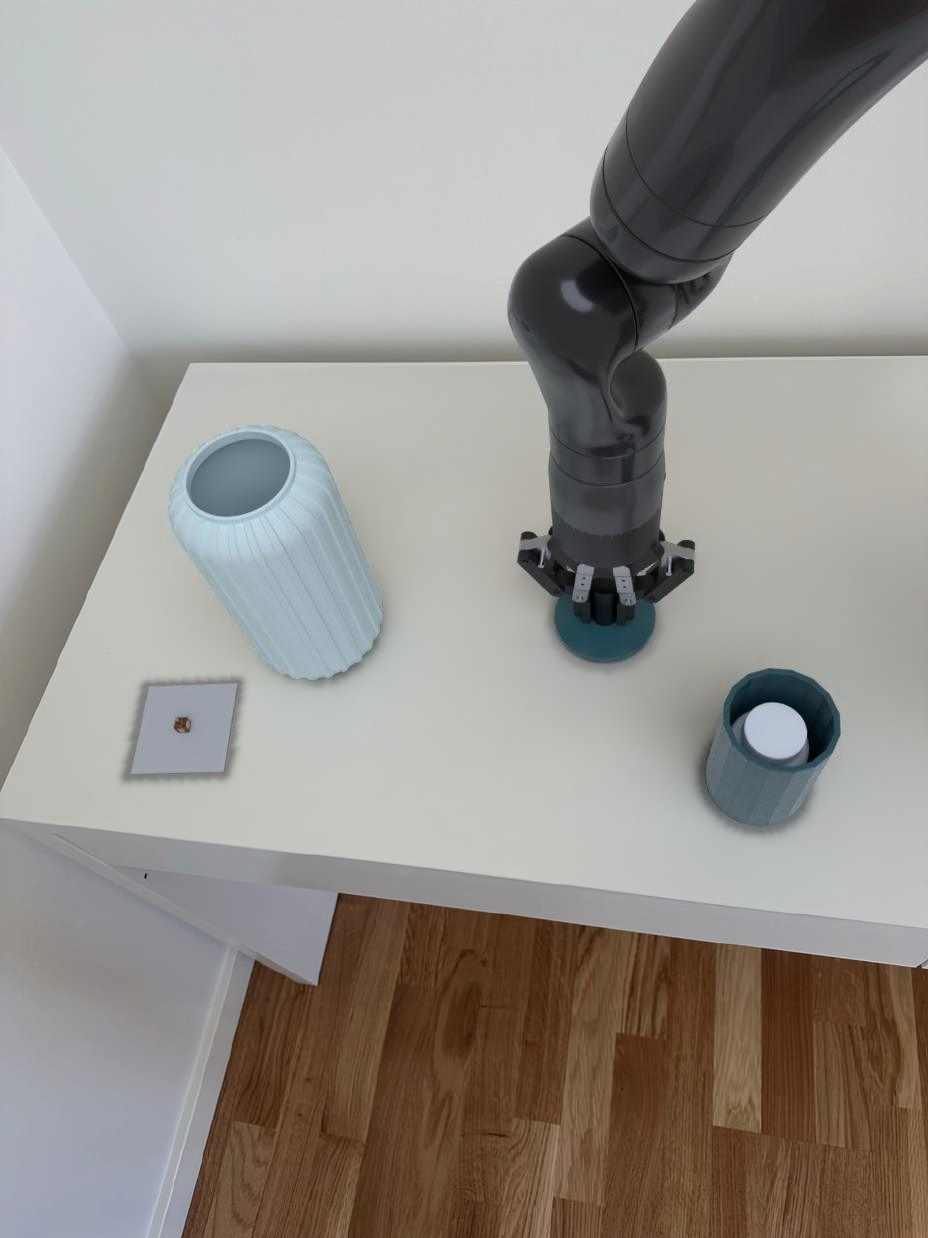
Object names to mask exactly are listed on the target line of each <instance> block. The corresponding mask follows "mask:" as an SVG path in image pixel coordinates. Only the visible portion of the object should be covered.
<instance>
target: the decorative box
mask: <svg viewBox="0 0 928 1238" xmlns="http://www.w3.org/2000/svg"><path fill="white" fill-rule="evenodd" d="M237 689H238V682H229V683H227V682H226V683H205V684H200V683H199V684H175V685H150V686H148V690H147V694H146V700H145V704H144V709H143V713H142V718H141V724H140V727H139V732H138V736H137V737H138V738H137V743H136V748H135V752H134V756H133V760H132V761H133V762H132V766H131V771H130V775H146V774H147V775H149V774H150V775H151V774H152V775H153V774H154V775H155V774H190V773H224V772H225V765H226V760H227V755H228V748H229V740H230V735H231V727H232V722H233V715H234V709H235V702H236V696H237V692H238V691H237Z"/></svg>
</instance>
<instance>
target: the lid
mask: <svg viewBox="0 0 928 1238" xmlns="http://www.w3.org/2000/svg"><path fill="white" fill-rule="evenodd" d="M618 594H619V593H617V587H616V582H615V580H614V579H609V578H592V581H591V623H582V617H576V616H575V614H574V607H573V599H572V596H570V595H568V594H565V593H564V595H563V596H562V597H558V599H557V601H556V604H555V608H554V614H553V615H554V617H553V618H554V627H555V630H556V633H557V635H558V637H559V639H560V641H561V642H562V644H563V645H564V647H566V648H567V649H568V650H569V651H570V652H571V653H573V654H574V655H576V656H578V657H580V658H581V659H585V660H587V661H591V662H595V663H615V662H620V661H623V660H626V659H628V658H630V657H632V656H634V655H636V654H637V653H638V652H640V651H641V650H642V649H643V648H644V647H645V646H646V645H647V644H648V643H649V641H650V639H651V637H652V636H653V633H654V630H655V625H656V609H655V608H656V607H655V605H654V603H647V602H645V601H644V599H639V600H637V601H636V604H635V614H634V619H633V620H632V621H631V620H625V626H621V625H617V601H618Z"/></svg>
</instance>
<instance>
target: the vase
mask: <svg viewBox="0 0 928 1238" xmlns="http://www.w3.org/2000/svg"><path fill="white" fill-rule="evenodd" d="M184 461H185V462H184V465H183V466H181V467H180V468H179V469H178V471H177V472H176V474H175V477H174V482H173V483H172V485H171V487H170V489H169V494H168V501H169V503H168V506H167V507H168V519H169V520H170V523H171V529H172V532H173V534H174V536H175V538H176V540H177V541H178V543H179V544H180V545H181V547H182V548H183V550H184V551H185V553H186V554H187V556H188V557H189V558H190V559H191V561H192V563H193V564H194V565H195V566H196V568H197V570H198V571H199V572H200V574H201V575H202V577H203V578H204V579H205V581H206V582H207V584H208V585H209V587H210V588H211V589H212V591H213V592H214V593H215V595H216V596H217V598H218V599H219V601H220V603H221V604H222V605H223V607H224V608H225V610H226V611H227V612H228V614H229V615H230V616H231V618H232V619H233V621H234V622H235V623H236V625H237V626H238V628H239V629H240V631H241V632H242V633H243V635H244V637H245V638H246V639H247V641H248V642H249V643H250V645H251V646H252V648H253V649H254V650H255V652H256V653H257V655H258V656H259V658H260V659H261V660H262V661H263V662H264V663H265V664H266V665H267V666H268V667H271V668H272V669H273V670H274V671H275V672H276V673H278V674H280V675H283V676H284V675H288V677H290V678H291V679H295V680H301V679H306V680H308V681H317V680H318V679H319V678H325V679H330V678H333V677H334V675H336V674H339V673H340V672H342V673H345V672H347V671H349V668H350V667H351V666H353V665H354V664H359V663H360V662H361V661H363V657H364V655H365V654H366V653H368V652H370V651H371V649H372V648H373V646H374V641H375V640H376V639H377V638H378V637H379V635H380V633H381V630H382V629H381V624H382V622H383V620H384V611H383V599H382V595H381V593H380V590H379V588H378V586H377V583H376V580H375V578H374V575H373V573H372V570H371V567H370V566H369V563H368V561H367V558H366V555H365V553H364V551H363V548H362V545H361V543H360V540H359V539H358V537H357V534H356V531H355V529H354V526H353V524H352V521H351V519H350V516H349V514H348V511H347V509H346V506H345V504H344V501H343V498H342V496H341V493H340V492H339V489H338V487H337V484H336V481H335V479H334V477H333V474H332V472H331V469H330V467H329V465H328V462H327V460H326V458H325V457H324V455H323V454H322V453H321V452H320V451H319V450H318V449H317V448H316V445H314V444H313V443H312V442H311V441H310V440H308V439H307V438H306V437H302V436H301V435H300V434H298V432H297V433H296V432H295V431H293V430H290V429H286V428H282V429H281V428H280V426H275V425H264V426H263V427H262V426H261V425H258V424H252V425H248V426H247V427H246V428H240V427H236V428H235V427H234V428H232V429H230V431H227V432H224V433H219V434H217V435H214V438H212V439H210V440H209V441H207V442H204V443H202V444H201V445H199V446H198V450H197V451H196V452H195V453H191V454H190V455H189V456H187V458H185V460H184Z"/></svg>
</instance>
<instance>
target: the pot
mask: <svg viewBox="0 0 928 1238" xmlns="http://www.w3.org/2000/svg"><path fill="white" fill-rule="evenodd" d="M771 702H773V703H781V704H784V705H787V706H789V707H791V708H792V709H794V710H795V711H796V712H797V713H798V714H799V715H800V716H801V717H802V719H803V721H804V723H805V725H806V729H807V738H808V742H809V756H808V760H807V763H805V764H801V765H798V766H794V767H788V766H777V765H770V764H768V763H766V762H764V761H762V760H760V759H758V758H755V757H753V756H752V755H751V754H750V753H749V752H748V751H747V750H746V749H745V748H744V747H743V746H742V745H741V744H740V743H739V742H738V741H737V739H736V737H735V735H734V732H733V730H732V728H731V727H732V725H733V723H734V722H735V721H736V720H737V719H738V718H739V717H740V716H742V715H743V714H745V713H746V712H749V711H751V710H752V709H754V708H755V707H757V706H758V705H761V704H764V703H771ZM841 730H842V729H841V714H840V711H839V709H838V707H837V705H836V703H835V701H834V699H833V697H832V695H831V693H830V692H828V691H827V690H826V689H825V688H824V687H823V686H822V685H820V684H819V683H818V682H817V681H816V680H815V679H814V678H813V677H810V676H807V675H805V674H803V673H802V672H801V673H800V672H799V671H795V670H793V669H787V668H773V667H768V668H765V669H761V670H758V671H753V672H750V673H747V674H746V675H745V676H744V677H742V678H741V679H739V680H738V681H737V682H736V683H735V684H733V686H731V688H730V689H729V692H728V694H727V696H726V698H725V700H724V702H723V706H722V708H721V712H720V717H719V720H718V723H717V726H716V730H715V733H714V736H713V740H712V744H711V747H710V751H709V753H708V757H707V761H706V769H705V782H706V786H707V787H706V788H707V789H708V793H709V795H710V797H711V799H712V800H713V802H714V803H715V804H716V806H717V807H718V808H719V809H720V810H721V811H722V812H723V813H724V814H725V815H726V816H728V817H730V818H731V819H733V820H735V821H737V822H739V823H741V824H746V825H748V826H755V827H768V826H773V825H777V824H779V823H782V822H784V821H786V820H787V819H789V818H790V817H791V816H792V815H794V814H795V813H796V812H797V811H798V810H799V809H800V807H801V806H802V805H803V803H804V801H805V799H806V798H807V796H808V794H809V793H810V792H811V789H812V788H813V786H814V784H815V783H816V781H817V780H818V778H819V776H820V775H821V773H822V771H823V769H824V768H825V766H826V765H827V763H828V761H829V760H830V758H831V756H832V755H833V753H834V751H835V749H836V746H837V744H838V742H839V740H840V737H841V734H842V732H841Z"/></svg>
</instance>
